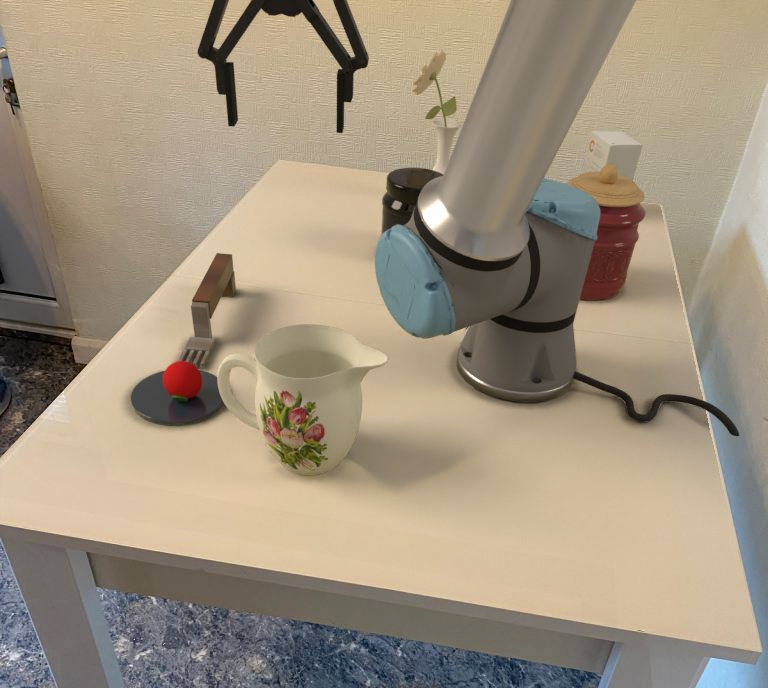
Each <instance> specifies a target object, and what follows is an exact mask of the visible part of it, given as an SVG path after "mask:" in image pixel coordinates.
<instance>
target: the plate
mask: <svg viewBox="0 0 768 688" xmlns="http://www.w3.org/2000/svg"><path fill="white" fill-rule="evenodd" d="M198 370H199V371H200V373H201V376H202V387H201V389H200V391H199V393H198V394H197V395H196V396H194V397H193V398H190V399H188V401H187V402H180V401H176V400H173V399H172V396H171V395H170V394H169V393H168V392H167V391H166V389H165V387H164V384H163V375H164V372H165V370H162V371H158V372H155V373H153V374H150V375H148V376H146V377H145V378H143V379H142V380H140V381H139V382H138V383H137V384H136V385H135V386H134V388H133V389H132V391H131V394H130V405H131V407H132V409H133V411H134V412H135V413H136V414H137V415H138V416H139V417H140V418H142V419H143V420H146V421H148V422H150V423H153V424H157V425H164V426H185V425H191V424H195V423H199V422H202V421H204V420H206V419H209V418H211V417H213V416H214V415H216V414H217V413H218V412H219V411H220V410H222V408H224V405H225V404H224V402H223V400H222V398H221V396H220V392H219V388H218V381H217V376H216V375H215V374H213V373H211V372H209V371H205V370H201V369H198Z"/></svg>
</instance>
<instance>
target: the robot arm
mask: <svg viewBox="0 0 768 688" xmlns="http://www.w3.org/2000/svg"><path fill="white" fill-rule="evenodd" d="M636 1H637V0H510V1H509V4H508V7H507V10H506V12H505V15H504V16H503V20H502V22H501V25H500V28H499V30H498V33H497V35H496V38H495V40H494V43H493V45H492V48H491V50H490V53H489V56H488V59H487V61H486V64H485V67H484V69H483V72H482V73H481V77H480V80H479V82H478V85H477V87H476V90H475V93H474V95H473V98H472V100H471V103H470V106H469V108H468V111H467V114H466V116H465V118H464V121H463V123H462V125H461V126H462V127H461V129H460V132H459V134H458V136H457V139H456V142H455V144H454V147H453V150H452V152H451V154H450V156H449V163H448V165H447V168H446V170H445V173H444V176H440V177H437V178H435V179H433V180H431V181H429V182H428V183H427V184H426V185H425V186H424V187H423V189H422V190H421V192H420V195H419V197H418V200H417V203H416V206H415V208H414V211H413V214H412V217H411V219H410V221H409V222H408V223H407V224H405V225H403V226H402V225H395V226H393V227H392V228H391V229H389V230H387V231H385V232H384V233H383V234H382V235H381V234H380V237H379V238H378V240H377V243H376V246H375V250H374V251H375V252H374V271H375V272H374V273H375V278H376V283H377V286H378V288H379V292H380V295H381V298H382V301H383V303H384V305H385V307H386V309H387V310H388V313H389V314H390V316H391V318H393V320H394V321H395V322H396V323H397V325H398V326H399V327H400V328H401V329H402V330H403V331H404V332H406V333H407V334H408V335H411V336H412V337H415V338H419V339H420V338H421V339H423V340H424V339H425V340H427V339H432V338H435V337H439V336H449V335H452V334H453V333H454V332H457V331H460V330H463V329H465V330H464V332H465V334H464V336H463V338H462V340H461V342H460V344H459V347H458V351H457V357H456V369H457V371H458V373H459V375H460V377H462V379H463V380H464V381H465V382H466V383H467V384H468V385H469V386H471V387H473V388H474V389H476V390H477V391H479V392H481V393H483V394H486V395H488V396H491V397H494V398H497V399H500V400H504V401H509V402H518V403H537V402H538V403H539V402H544V401H549V400H553V399H555V398H559V397H560V396H563V395H564V394H565V393H566V392H568V391H569V390H570V388H571V387H572V386H573V383H574V380H576V381H578V382H581V383H583V384H586V385H588V386H591V387H593V388H595V389H597V390H601V392H605V393H608V394H611V395H614V396H615V397H617V398H619V399H620V400H622V401H623V403H624V404H625V407H626V413H627V415H628V417H629V418H630V419H631V420H633V421H636V422H640V423H647V422H651V421H652V420H654V419H655V418H656V416H657V415H658V413H659V410H660V407H661V404H663V403H665V402H672V403H682V404H687V405H692V406H695V407H698V408H700V409H703V410H705V411H707V412H708V413H710V414H711V415H712V416H714V417H715V419H717V420H718V421H719V422H721V424H722V425H723V426H724V427H725V428H726V429H727V431H728V433H729V434H730V435H731V436H734V437H740V432H739V429H738V428H737V426H736V425H735V423H734V422H733V421H732V419H731V418H730V417H729V416H728V415H727V414H726V413H725V412H723V410H722V409H720V408H718V406H716V405H714V404H712V403H710V402H708V401H705V400H704V399H701V398H698V397H694V396H689V395H685V394H676V393H675V394H674V393H663V394H659V395H658V396H657V397H655V399H654V400H653V402H652V403H651V406H650V408H649V411H648V412H647V413H645V414H644V413H639V412H637V411H636V409H635V403H634V400H633V398H632V396H630V394H628V392H626V391H624V390H623V389H620V388H619V387H616V386H614V385H611V384H608V383H606V382H603V381H600V380H597V379H595V378H592V377H590V376H589V375H586V374H584V373H580V372H579V371H577V363H578V362H577V361H578V360H577V349H576V339H575V338H576V337H575V330H574V329H575V328H574V322H575V319H576V315H577V310H578V307H579V303H580V300H581V299H580V296H581V292H582V288H583V284H584V281H585V277H586V273H587V269H588V265H589V262H590V258H591V254H592V250H593V246H594V243H595V240H597V237H598V236H597V229H598V224H599V219H600V208H599V205H598V203H597V201H596V200H595V199H594V198H593V197H592V196H591V195H589V194H588V193H586V192H584V191H582V190H580V189H578V188H575V187H573V186H570V185H567V184H566V183H564V182H561V181H558V180H553V179H548V178H545V177H546V175H547V173H548V171H549V169H550V167H551V166H552V163H553V162H554V160H555V157H556V156H557V154H558V152H559V150H560V148H561V146H562V144H563V143H564V140H565V138H566V137H567V135H568V133H569V131H570V129H571V127H572V125H573V123H574V121H575V119H576V117H577V115H578V114H579V111H580V109H581V108H582V106H583V104H584V102H585V100H586V98H587V96H588V94H589V92H590V91H591V88H592V86H593V85H594V82H595V80H596V79H597V77H598V75H599V73H600V71H601V69H602V67H603V65H604V63H605V61H606V60H607V57H608V56H609V54H610V51H611V49H613V48H612V47H613V46H614V44H615V42H616V40H617V38H618V36H619V35H620V32H621V31H622V29H623V27H624V25H625V23H626V21H627V19H628V17H629V15H630V13H631V11H632V10H633V7H634V5H635V3H636ZM229 2H230V0H213V3H212V6H211V9H210V12H209V15H208V18H207V21H206V23H205V27H204V30H203V33H202V35H201V39H200V42H199V45H198V47H197V56H198V57H199V58H200V59H205V60H207V61H209V62H211V63H212V64H213V66H214V73H215V84H216V91H217V93H218V95H219V96H220V95H222V96H223V95H224V96H225V103H226V114H227V125H228V127H235V126H236V125H237V123H238V122H239V115H238V103H237V102H238V101H237V90H236V75H235V64H234V61H227V60H228V57H229V56H230V55H231V53H232V52H233V50H234V49H235V48H236V46H237V44H238V43H239V41H240V40H241V39H242V37H243V36H244V34H245V33H246V31H248V29H249V27H250V26H251V24H252V22H253V21H254V19H255V18H256V17H257V15H258V14H259V13H260V11H261V10H262V11H263V12H264V13H265V14H267V16H273V17H274V16H275V17H276V16H278V15H284V16H285V17H289V18H296V16H299V15H301V14H302V15H303V16H304V18H305V19H306V20H307V21H308V23H309V24H310V25H311V26H312V28H313V30H314V31H315V32H316V34H317V35H318V36H319V38H320V39H321V41H322V43H324V45H325V47H326V48H327V50H328V51H329V52H330V54H331V55H332V57H333V58H334V59H335V61H336V62H337V64H338V65H339V67H340V68H338V70H337V73H336V134H343V133H344V129H345V103H352V100H353V98H354V82H355V81H354V79H355V78H354V76H355V72H357V71H358V70H361V69H366V68H367V67H368V66H369V60H370V57H369V56H370V55H369V53H368V51H367V48H366V45H365V43H364V41H363V39H362V36H361V33H360V31H359V28H358V25H357V23H356V20H355V18H354V16H353V12H352V10H351V8H350V5H349V3H348V0H332V2H333V5H334V8H335V10H336V12H337V15H338V17H339V21H340V23H341V25H342V28H343V30H344V32H345V35H346V37H347V40H348V42H349V45H350V48H351V50H352V52H353V55H354V56H351V55H350V54H349V52H348V51H347V49H346V48H345V46H344V44H343V43H342V41H341V40H340V39H339V37H338V36H337V35H336V33H335V32H334V30H333V29H332V27H331V26H330V25H329V23H328V21H327V20H326V19H325V17H324V15H323V14H322V13H321V11H320V9H319V7H318V5H317V4H316V3H315V1H314V0H250V1H249V3H248V5H247V6H246V8H245V9H244V10H243V13H242V14H241V15H240V16H239V18H238V20H237V21H236V23H235V24H234V26H233V27H232V29H231V30H230V31H229V33H228V35H227V36H226V37H225V38H224V41H223V42H222V43H221V45H220V47H219V48H217V47H215V46H214V45H215V43H216V40H217V36H218V34H219V31H220V27H221V25H222V23H223V19H224V16H225V13H226V11H227V7H228V5H229Z"/></svg>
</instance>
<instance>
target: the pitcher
mask: <svg viewBox="0 0 768 688" xmlns="http://www.w3.org/2000/svg"><path fill="white" fill-rule="evenodd" d="M254 357H255V358H253V357H251V356H249V355H246V354H243V353H238V352H237V353H231V354H229V355H227V356H226V357H225V358H224V359H223V360H222V361H221V363H220V364H219V367H218V370H217V376H216V377H217V381H218V388H219V392H220V396H221V398H222V400H223V402H224V405H225V407H226V408H227V410H229V412H230V413H231V414H232V415H234V416H235V418H237V419H238V420H239V421H240V422H242V423H244V424H246V425H247V426H249V427H251V428H253V429H256V430H259V432H260V434H261V436H262V439H263V441H264V444H265V446H267V449H269V450H268V451H269V452H270V453H271V455H272V456H273V457H274V458H275V460H277V461H278V463H280V464H281V465H282V466H283V467H284V468H285V469H287V470H288V471H290V472H292V473H295V474H298V475H304V476H316V475H321V474H325V473H328V472H329V471H331V470H333V469H334V468H335V467H336V466H337V465H338V464H339V463H341V462H342V461H343V460H344V459H345V457H346V456H347V455H348V454H349V452H350V451H351V448H352V446H353V445H354V442H355V440H356V437H357V434H358V431H359V428H360V423H361V418H362V410H363V391H362V384H361V383H362V381H363V379H364V378H365V377H366V375H367V374H368V373H369V372H370V371H372V370H374V369H378V368H381V367H383V366H385V365H386V364H387V363H388V362H389V356H388V355H387V354H386V353H384V352H383V351H381V350H379V349H377V348H374V347H372V346H369V345H366V344H364V343H363V342H361V341H360V340H359V339H358V338H357V337H356V336H354V335H353V334H351V333H350V332H348V331H346V330H343V329H340V328H337V327H334V326H329V325H323V324H313V323H301V324H300V323H299V324H291V325H286V326H282V327H279V328H276V329H273V330H271V331H269V332H268V333H266V334H264V335H263V336H262V337H260V339H259V340H258V341H257V342H256V345H255V347H254ZM234 368H243V369H245V370H247V371H248V372H249V373H251V374H252V375H253V376H254V377H255V378H256V381H257V382H256V386H255V392H254V393H255V394H254V406H255V407H254V408H255V413H253V412H251V411H250V410H248V409H247V408H246V407H245V406H243V404H242V403H241V402H239V400H238V399H237V398H236V396H235V395H234V393H233V390H232V388H231V387H232V386H231V383H230V374H231V371H232V370H233V369H234Z"/></svg>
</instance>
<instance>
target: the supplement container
mask: <svg viewBox="0 0 768 688" xmlns="http://www.w3.org/2000/svg"><path fill="white" fill-rule="evenodd" d="M440 176H444V175H443V174H442V173H439V172H437V171H434V170H432V169H430V168H424V167H401V168H397V169H394V170H392V171H390V172H389V173H388V174H387V175H386V185H385V188H386V192H385V193H384V194H383V196H382V199H381V204H382V213H381V230H380V236H381V235H382V234H383V233H384V232H385V231H387V230H389V229H391V228H392V227H393V226H395V225H402V226H403V225H405V224H407V223H408V222H409V221H410V219H411V217H412V214H413V211H414V208H415V206H416V203H417V200H418V197H419V195H420V192H421V190H422V189H423V187H424V186H425V185H426V184H427V183H428V182H429V181H431V180H433V179H435V178H437V177H440Z"/></svg>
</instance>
